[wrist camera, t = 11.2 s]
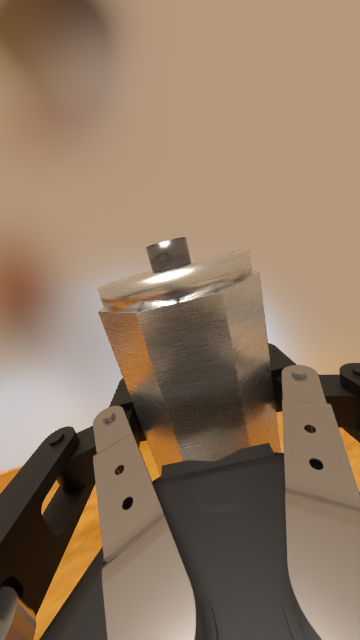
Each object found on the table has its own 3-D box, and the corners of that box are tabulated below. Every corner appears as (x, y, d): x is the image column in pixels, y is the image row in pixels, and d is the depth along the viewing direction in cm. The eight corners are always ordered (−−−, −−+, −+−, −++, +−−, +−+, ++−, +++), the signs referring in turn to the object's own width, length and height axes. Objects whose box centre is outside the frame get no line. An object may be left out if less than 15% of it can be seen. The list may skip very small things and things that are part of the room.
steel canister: (183, 578, 10) (48, 264, 5) (179, 459, 15) (113, 259, 11) (307, 555, 9) (280, 204, 5) (257, 442, 15) (222, 232, 11)
